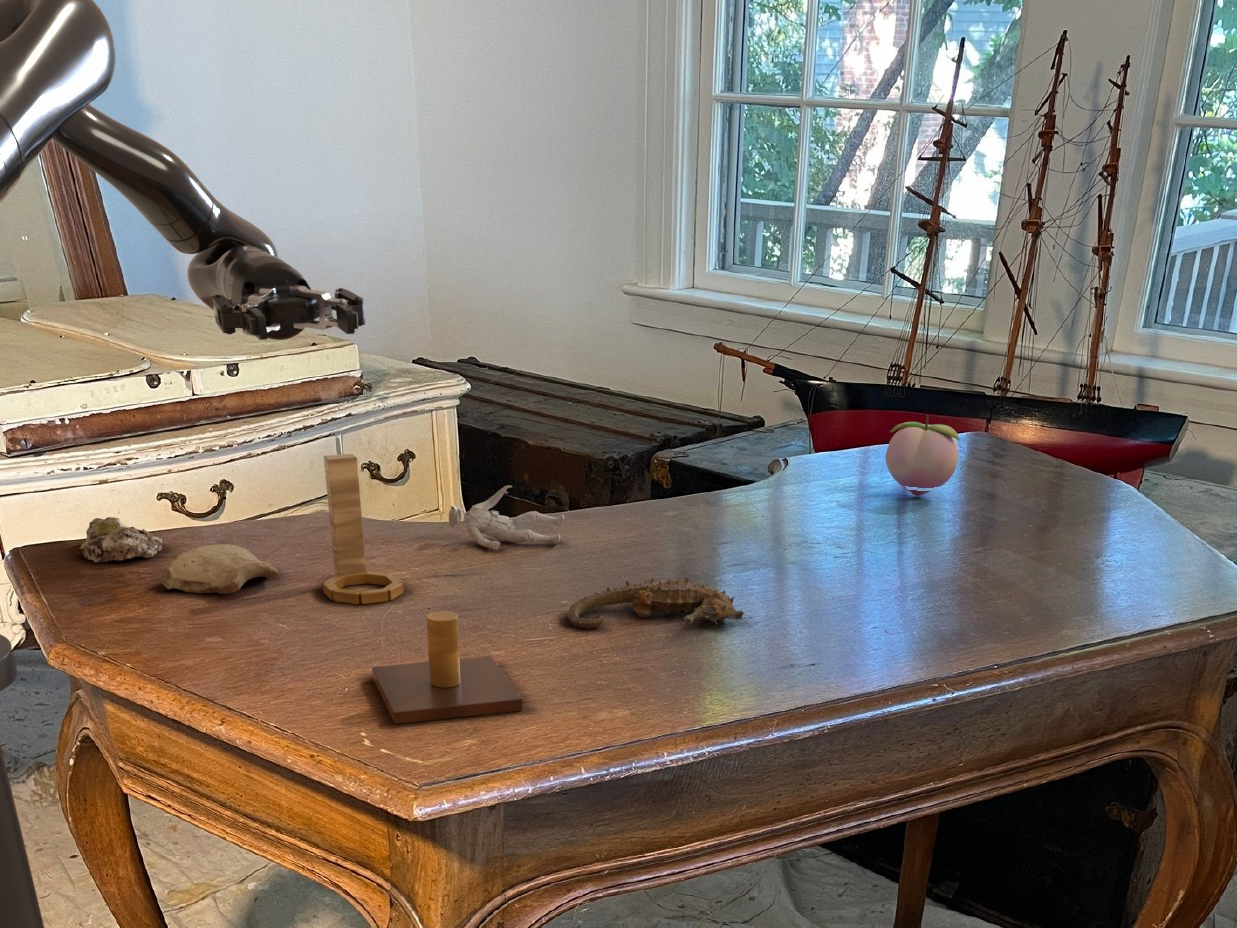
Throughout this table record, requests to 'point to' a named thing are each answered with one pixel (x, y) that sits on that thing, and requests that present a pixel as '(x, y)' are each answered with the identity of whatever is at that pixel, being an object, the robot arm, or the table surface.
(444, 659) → the peg stand
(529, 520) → the soldier figure
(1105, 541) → the table surface
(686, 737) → the table surface
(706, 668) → the table surface
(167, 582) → the pottery shard
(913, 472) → the decorative fruit
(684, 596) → the seahorse
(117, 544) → the mineral rock
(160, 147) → the robot arm
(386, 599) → the wooden ring with handle
